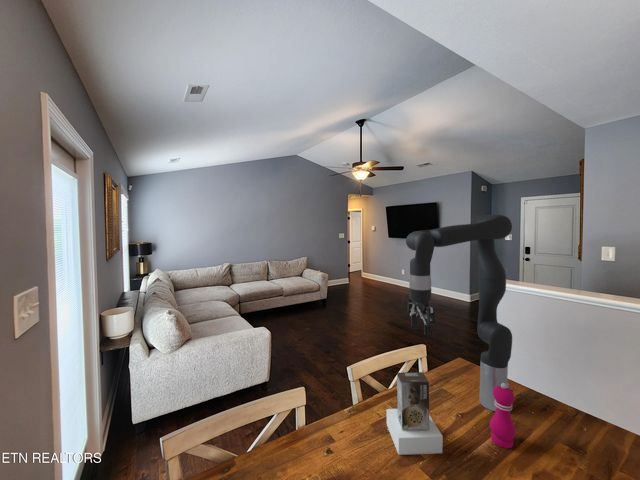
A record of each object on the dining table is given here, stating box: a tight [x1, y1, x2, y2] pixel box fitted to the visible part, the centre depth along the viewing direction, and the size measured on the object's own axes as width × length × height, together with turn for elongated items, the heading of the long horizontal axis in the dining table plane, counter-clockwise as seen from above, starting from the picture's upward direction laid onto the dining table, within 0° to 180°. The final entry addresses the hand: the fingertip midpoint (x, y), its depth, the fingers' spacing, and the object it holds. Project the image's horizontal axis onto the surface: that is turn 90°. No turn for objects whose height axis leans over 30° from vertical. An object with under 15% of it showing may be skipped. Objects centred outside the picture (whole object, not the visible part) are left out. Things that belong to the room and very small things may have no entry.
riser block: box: [386, 408, 444, 456], centre depth 98 cm, size 14×14×6 cm
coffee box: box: [396, 371, 430, 430], centre depth 97 cm, size 9×6×16 cm
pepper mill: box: [489, 383, 516, 449], centre depth 96 cm, size 7×7×20 cm
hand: (420, 330), depth 106 cm, fingers open, 8 cm apart
